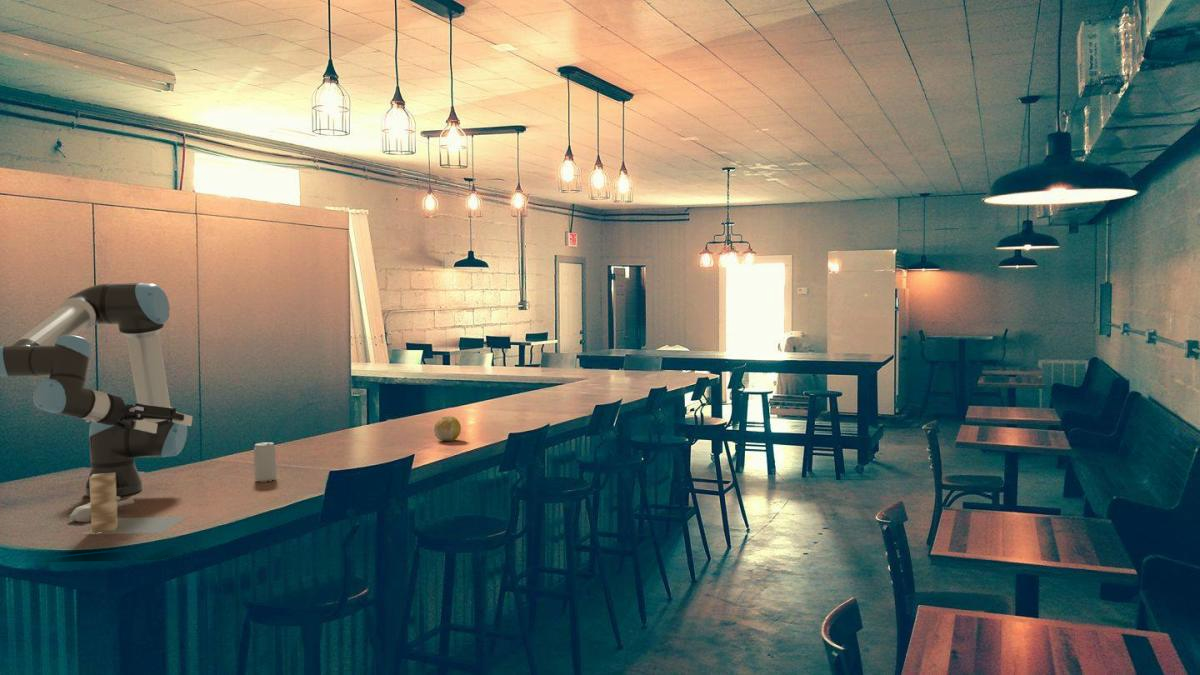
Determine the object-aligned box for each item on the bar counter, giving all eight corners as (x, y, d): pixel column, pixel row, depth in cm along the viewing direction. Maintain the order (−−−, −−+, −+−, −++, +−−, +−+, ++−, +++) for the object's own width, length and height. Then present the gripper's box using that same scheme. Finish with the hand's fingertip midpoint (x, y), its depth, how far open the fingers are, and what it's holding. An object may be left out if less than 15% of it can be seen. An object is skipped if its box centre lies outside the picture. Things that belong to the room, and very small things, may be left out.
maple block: (91, 533, 211) (89, 478, 211) (95, 528, 216) (92, 474, 215) (114, 531, 213) (112, 476, 212) (117, 525, 218) (115, 472, 217)
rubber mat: (79, 535, 211) (79, 534, 211) (112, 519, 226) (112, 518, 226) (160, 534, 211) (160, 532, 211) (188, 518, 226) (188, 516, 226)
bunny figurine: (61, 508, 223) (113, 489, 237) (64, 526, 224) (115, 506, 237) (85, 511, 219) (136, 491, 233) (88, 530, 220) (139, 509, 234)
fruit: (438, 438, 345) (438, 414, 344) (464, 439, 343) (463, 414, 343) (430, 443, 335) (429, 418, 334) (456, 443, 333) (456, 418, 333)
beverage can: (268, 483, 267) (267, 445, 267) (250, 482, 269) (249, 445, 268) (280, 478, 274) (279, 442, 273) (262, 477, 275) (261, 441, 274)
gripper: (66, 429, 217) (140, 444, 235) (133, 414, 207) (204, 431, 226) (71, 401, 220) (143, 418, 238) (137, 385, 210) (207, 404, 228)
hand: (173, 425), depth 232 cm, fingers open, 13 cm apart
